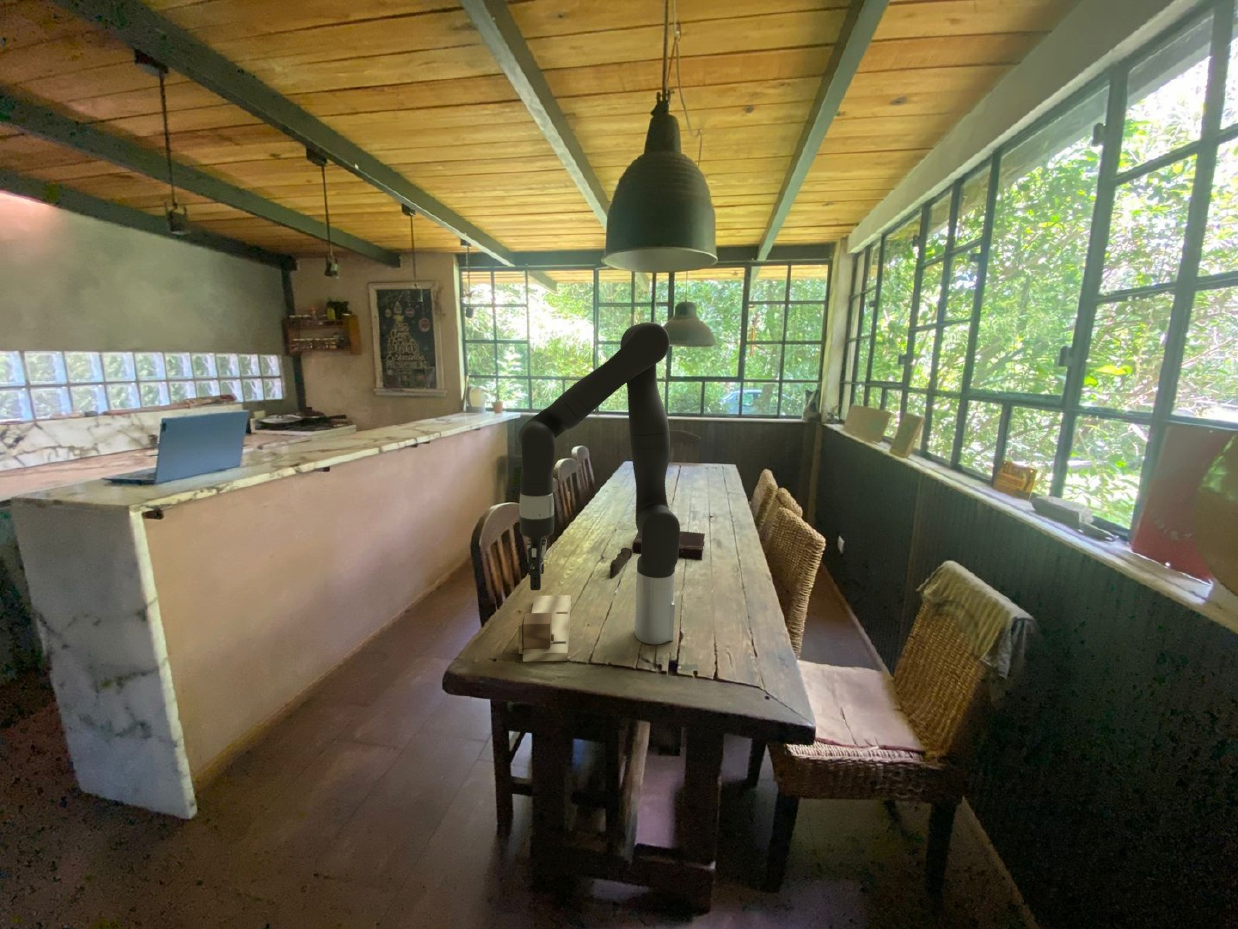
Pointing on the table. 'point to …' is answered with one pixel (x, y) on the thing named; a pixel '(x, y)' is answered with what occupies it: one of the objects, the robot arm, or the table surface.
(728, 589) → the table surface
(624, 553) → the hand tool
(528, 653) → the board
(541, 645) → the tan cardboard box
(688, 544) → the diary
